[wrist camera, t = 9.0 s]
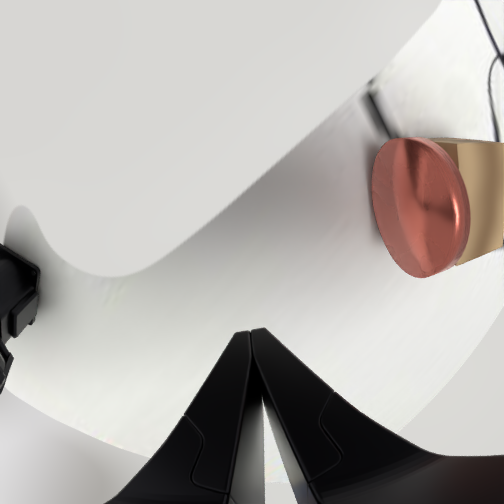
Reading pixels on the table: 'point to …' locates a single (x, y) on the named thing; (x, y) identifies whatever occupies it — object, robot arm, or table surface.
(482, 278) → the table surface
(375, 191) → the copper disc handle
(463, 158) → the tan block
